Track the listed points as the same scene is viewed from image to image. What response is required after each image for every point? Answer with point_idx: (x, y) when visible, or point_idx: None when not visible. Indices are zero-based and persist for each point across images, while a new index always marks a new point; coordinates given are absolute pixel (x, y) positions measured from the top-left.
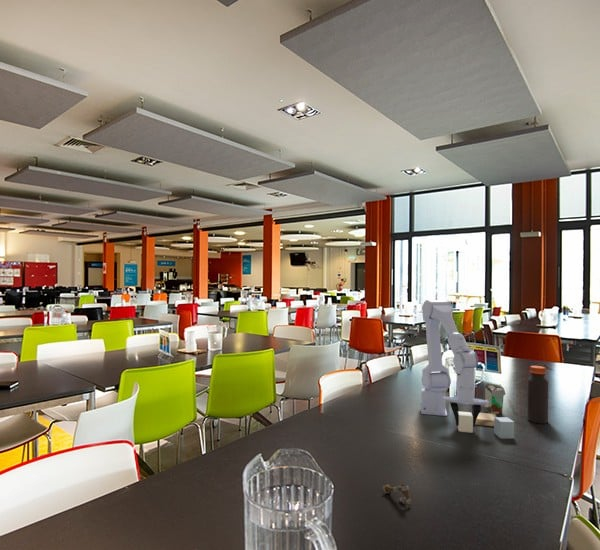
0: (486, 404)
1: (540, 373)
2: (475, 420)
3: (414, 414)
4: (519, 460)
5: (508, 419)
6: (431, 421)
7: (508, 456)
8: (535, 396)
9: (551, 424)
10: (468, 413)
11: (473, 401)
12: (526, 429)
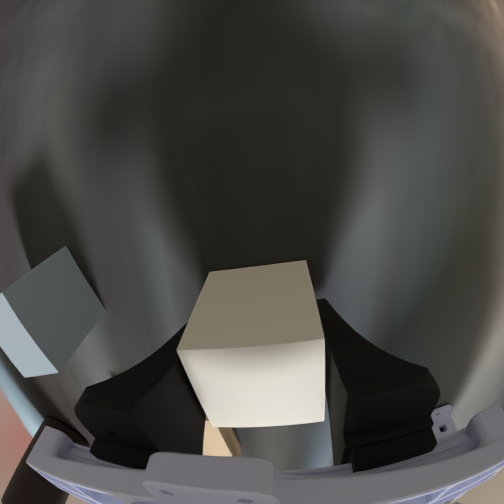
0: (45, 447)
1: None
2: (171, 339)
3: (476, 384)
4: (18, 13)
5: (5, 346)
6: (440, 349)
7: (40, 15)
8: (29, 480)
9: (38, 413)
10: (231, 408)
11: (118, 496)
12: (49, 378)
